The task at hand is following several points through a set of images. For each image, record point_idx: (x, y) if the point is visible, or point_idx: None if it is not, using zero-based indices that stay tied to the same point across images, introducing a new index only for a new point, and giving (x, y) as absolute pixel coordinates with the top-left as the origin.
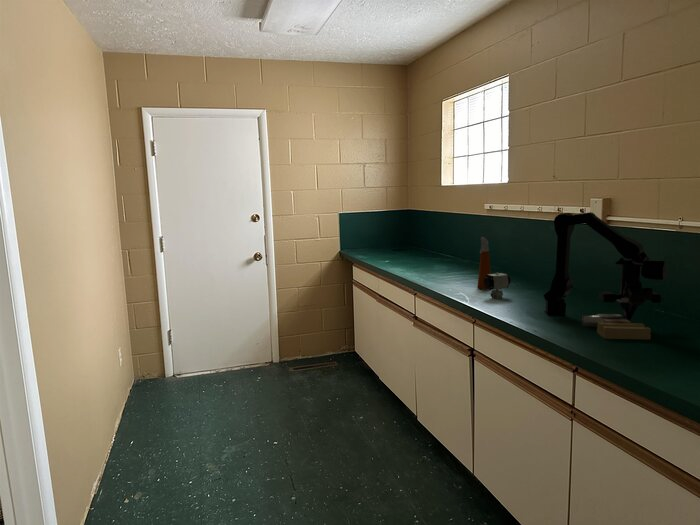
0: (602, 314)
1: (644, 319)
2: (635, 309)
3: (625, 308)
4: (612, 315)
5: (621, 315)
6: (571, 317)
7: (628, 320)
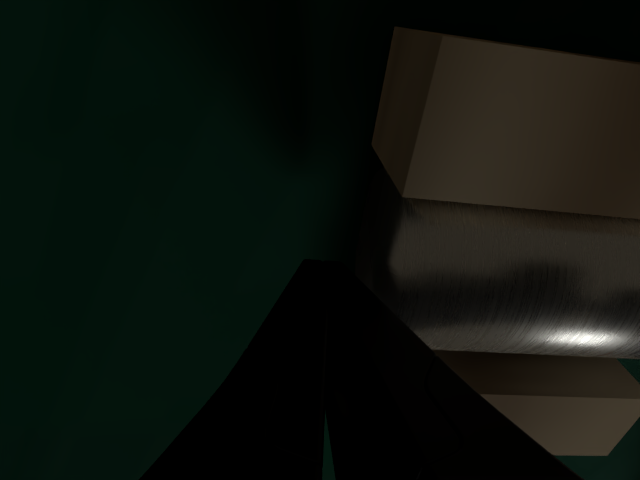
0: (558, 439)
1: (23, 439)
2: (206, 411)
3: (520, 442)
4: None
5: None
6: (635, 466)
7: (427, 143)
